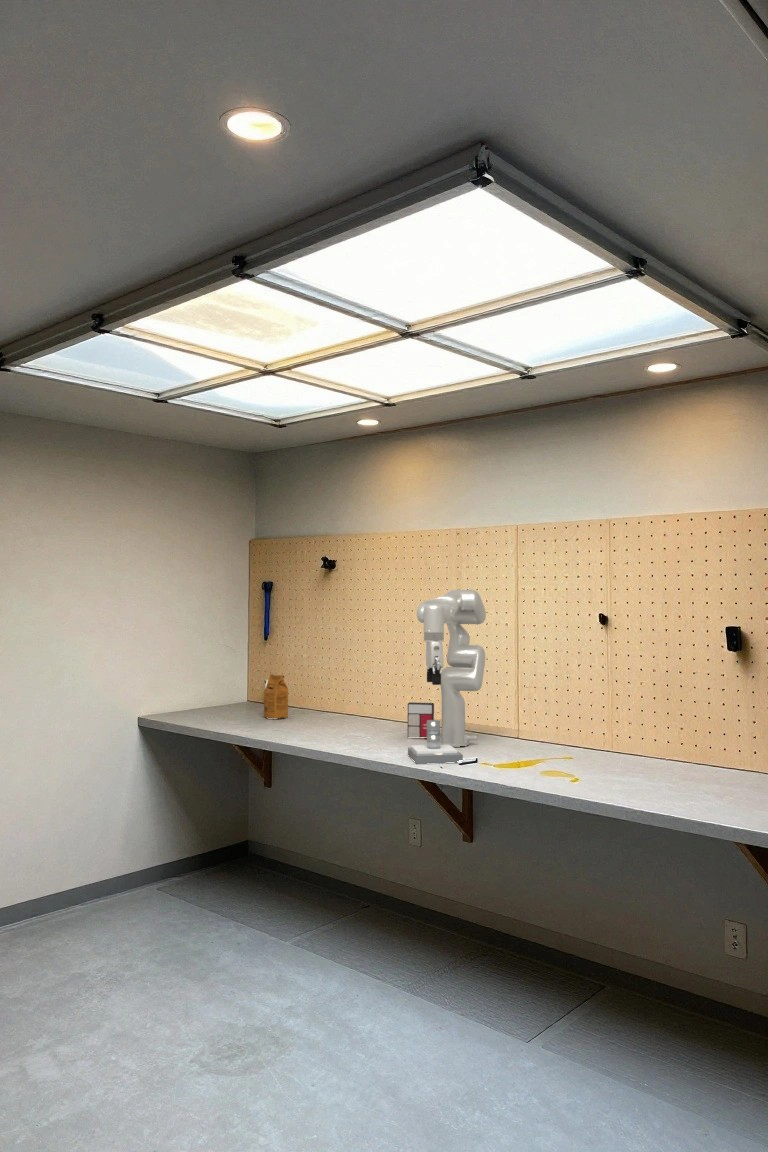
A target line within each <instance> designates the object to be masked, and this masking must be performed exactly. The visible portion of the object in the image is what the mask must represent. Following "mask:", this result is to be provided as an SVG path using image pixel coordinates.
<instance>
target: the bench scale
mask: <svg viewBox="0 0 768 1152" xmlns="http://www.w3.org/2000/svg"><path fill="white" fill-rule="evenodd" d="M408 755H409V756H410V757H411V758H412V759H413V760H414V761H415V762H414V761H413V760H412V759H411V758H410V757H409V756H408ZM407 756H408V757H409V758H410V759H411V760H412V761H413V762H414V763H415V764H416V765H428V764H427V763H445V762H457V761H459V760H463V761H464V754H462V752H460V751H459V750H457V748H456V747H452V746H451V745H440V749H428V748H427V744H425V745H424V744H422V745H421V744H417V745H416V744H415V745H414V744H413V745H410V747H408V748H407Z"/></svg>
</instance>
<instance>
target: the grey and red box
mask: <svg viewBox="0 0 768 1152" xmlns="http://www.w3.org/2000/svg"><path fill="white" fill-rule="evenodd" d="M434 716H435V703H433V702H411V701H410V702H408V703H407V738H408V737H427V720H435V717H434Z"/></svg>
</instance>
